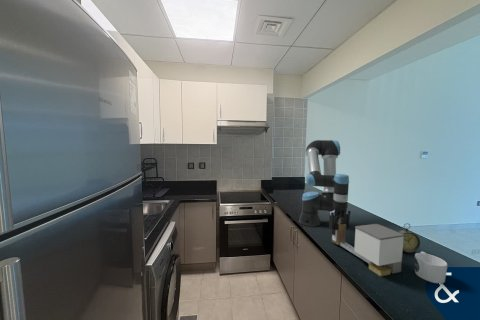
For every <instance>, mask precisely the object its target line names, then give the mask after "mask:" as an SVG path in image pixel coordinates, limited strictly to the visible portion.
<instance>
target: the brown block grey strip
mask: <svg viewBox="0 0 480 320" xmlns="http://www.w3.org/2000/svg"><path fill="white" fill-rule="evenodd" d="M336 230H337V241H334V240H333V239H332V238H331V242H332V243H333V244H335V245H337V246H340V247H342V248H343V249H345V250H347V251H349V252H350V253H351V254H353V255H354V256H356V257H357V258H359V259H361V260H362V261H364V262H366V263H367V264H368V265H369V264H371V263H373V262H371V261H370V260H368V259H366V258H365V257H363V256H362V255H360V254H358V253H357V252H355V251H354V248H355V246H352V245H351V244H349V243H347V242H346V236H347V235H346V234H347V229H346V224H345V223H343V222H341V220H338V224H337V228H336Z"/></svg>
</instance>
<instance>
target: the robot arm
mask: <svg viewBox="0 0 480 320" xmlns="http://www.w3.org/2000/svg"><path fill="white" fill-rule="evenodd" d="M305 155H306V157H307V165H308V166H307V167H308V174H306V176H305V178H306V179H305V180H306V181H305V182H306V186H310V187H319V188H320V187H323V190H322V191H321V194H320V193H319V192H317V191H306V192H304V193H303V194H302V198H301V213H300V215H299V219H298V223H299V224H300V225H303V226H304V227H305V226H306V227H310V228H311V227H312V228H314V227H319V226H321V219H320V215H319V211H323V212H328V215H329V219H328V229H331V240H332V239H333V240H334V241H337V230H336V228H337V224H338V221H341V222H343V223H345V224H346V230H348V228H350V223H351V222H350V218H351V217H350V216H351V213H352V212H351V210H347V209H348V206H349V205H348V201H349V183H350V176H349V175H348V174H345V173H337V166H336V165H337V159H338V157H339V156H341V145H340V143H339V141H338V140H335V139H329V140H328V139H323V140H322V139H321V140H320V139H316V140H313V141H311V142H310V143H308V145H306V148H305ZM319 156H321V159H322V160H323V174H322V171H321V165H320V160H319V158H320V157H319Z"/></svg>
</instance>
